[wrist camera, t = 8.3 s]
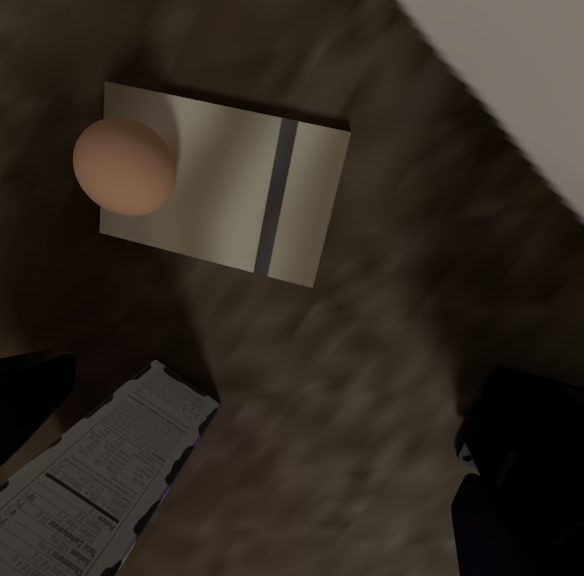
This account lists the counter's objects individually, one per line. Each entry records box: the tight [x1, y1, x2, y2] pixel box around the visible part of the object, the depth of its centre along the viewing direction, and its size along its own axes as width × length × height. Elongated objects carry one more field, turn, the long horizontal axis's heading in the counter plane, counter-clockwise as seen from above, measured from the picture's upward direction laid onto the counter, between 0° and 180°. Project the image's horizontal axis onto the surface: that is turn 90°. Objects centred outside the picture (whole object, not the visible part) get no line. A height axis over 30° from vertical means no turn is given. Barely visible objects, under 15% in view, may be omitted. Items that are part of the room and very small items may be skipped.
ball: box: [73, 118, 176, 216], centre depth 16 cm, size 4×4×4 cm
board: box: [100, 81, 351, 288], centre depth 18 cm, size 13×8×1 cm, turn 78°
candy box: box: [0, 360, 220, 576], centre depth 16 cm, size 14×6×16 cm, turn 147°
